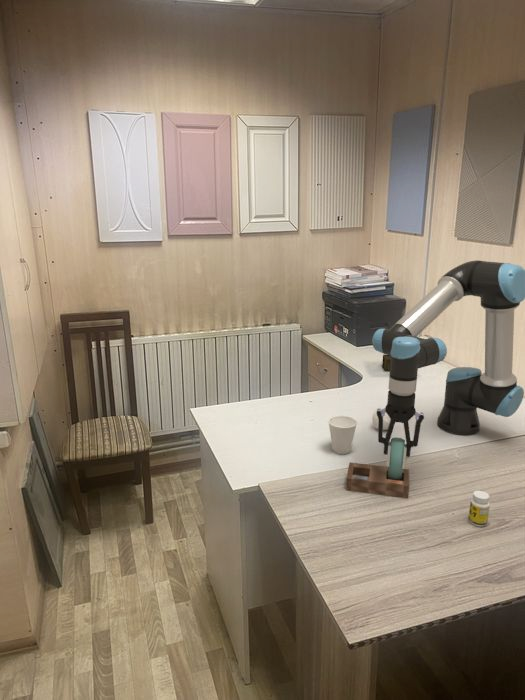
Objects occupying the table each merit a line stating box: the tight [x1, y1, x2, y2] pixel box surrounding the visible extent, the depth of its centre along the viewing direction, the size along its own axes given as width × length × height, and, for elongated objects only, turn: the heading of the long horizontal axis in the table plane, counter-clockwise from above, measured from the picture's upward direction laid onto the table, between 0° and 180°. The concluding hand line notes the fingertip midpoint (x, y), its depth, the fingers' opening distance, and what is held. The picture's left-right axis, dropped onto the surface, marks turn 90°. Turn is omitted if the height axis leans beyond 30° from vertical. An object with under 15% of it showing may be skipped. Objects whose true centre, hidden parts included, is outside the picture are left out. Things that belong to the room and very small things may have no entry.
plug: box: [388, 437, 406, 480], centre depth 153 cm, size 4×4×12 cm
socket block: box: [345, 461, 410, 499], centre depth 156 cm, size 18×10×4 cm, turn 76°
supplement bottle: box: [468, 490, 491, 527], centre depth 138 cm, size 5×5×8 cm
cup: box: [327, 415, 358, 455], centre depth 177 cm, size 10×10×11 cm
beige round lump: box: [371, 410, 390, 431], centre depth 194 cm, size 8×8×8 cm
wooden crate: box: [381, 354, 391, 373], centre depth 262 cm, size 7×7×7 cm
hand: (395, 464), depth 154 cm, fingers closed on plug, 4 cm apart
